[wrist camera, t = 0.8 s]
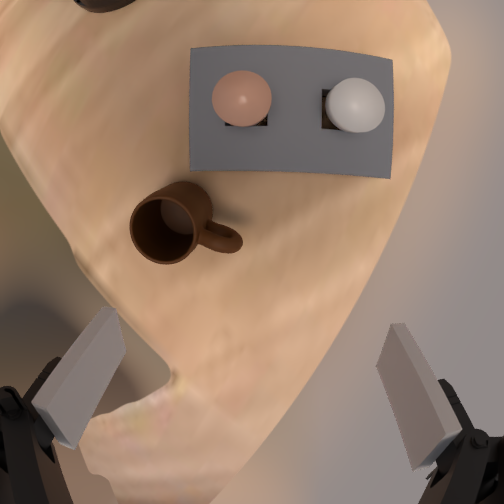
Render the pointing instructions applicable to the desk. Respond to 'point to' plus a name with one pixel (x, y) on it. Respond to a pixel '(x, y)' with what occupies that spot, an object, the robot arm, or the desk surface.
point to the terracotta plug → (242, 98)
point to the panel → (288, 112)
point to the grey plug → (355, 105)
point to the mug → (179, 225)
